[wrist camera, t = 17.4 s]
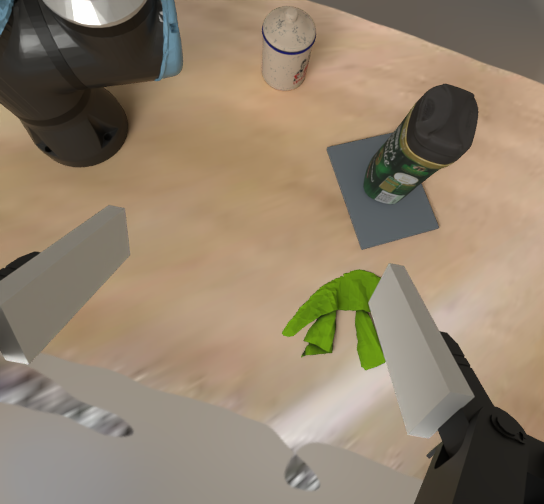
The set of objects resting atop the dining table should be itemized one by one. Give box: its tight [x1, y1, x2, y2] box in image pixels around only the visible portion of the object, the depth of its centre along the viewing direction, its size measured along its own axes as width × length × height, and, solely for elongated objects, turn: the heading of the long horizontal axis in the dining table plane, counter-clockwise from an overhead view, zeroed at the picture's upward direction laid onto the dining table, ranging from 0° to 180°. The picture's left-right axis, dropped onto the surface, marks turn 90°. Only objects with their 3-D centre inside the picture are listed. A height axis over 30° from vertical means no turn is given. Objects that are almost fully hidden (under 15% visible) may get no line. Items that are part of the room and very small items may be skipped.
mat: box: [327, 133, 439, 250], centre depth 51 cm, size 20×15×1 cm
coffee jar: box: [363, 84, 478, 204], centre depth 42 cm, size 10×8×19 cm
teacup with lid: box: [262, 6, 316, 91], centre depth 49 cm, size 12×9×12 cm
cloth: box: [282, 269, 386, 370], centre depth 45 cm, size 20×22×2 cm
